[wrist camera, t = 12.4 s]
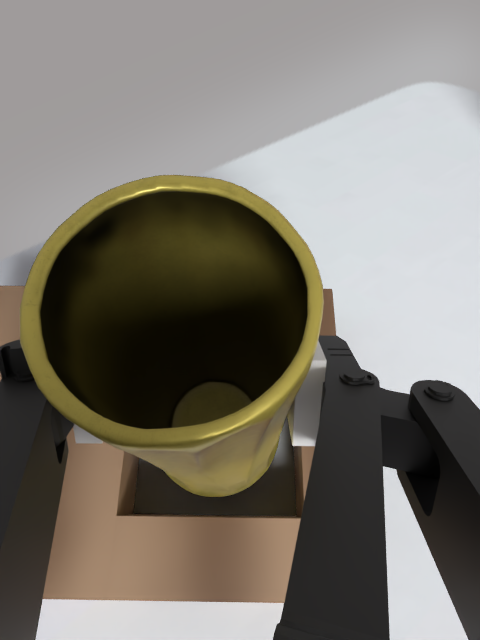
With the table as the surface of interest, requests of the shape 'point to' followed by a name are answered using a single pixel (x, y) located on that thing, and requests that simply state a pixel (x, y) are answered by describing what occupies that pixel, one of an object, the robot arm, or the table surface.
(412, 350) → the table surface
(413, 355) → the table surface
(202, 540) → the frame
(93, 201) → the vase
